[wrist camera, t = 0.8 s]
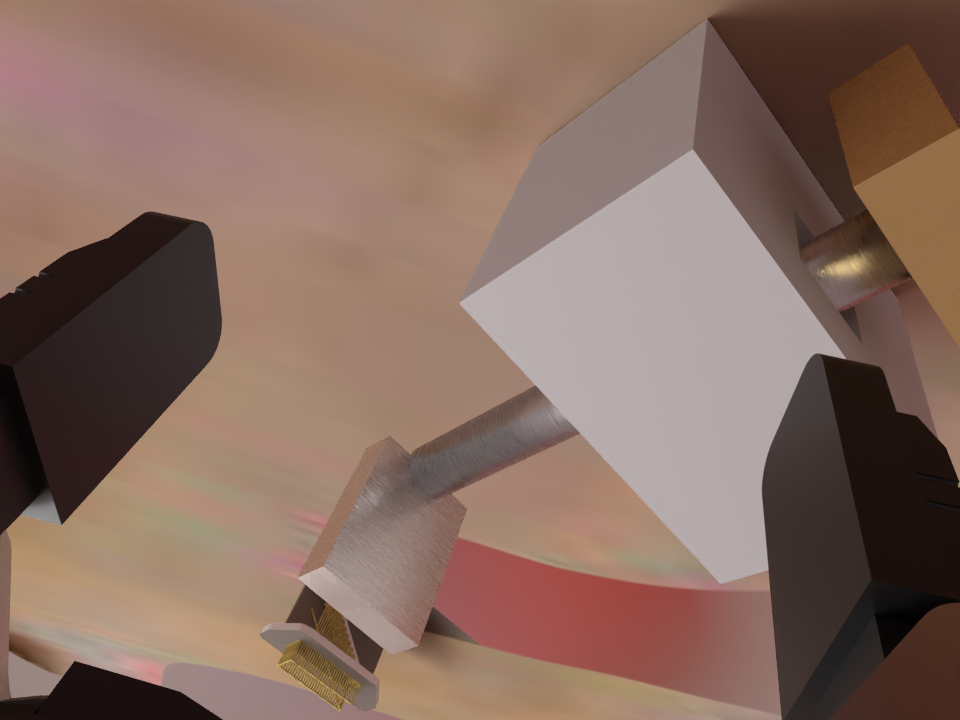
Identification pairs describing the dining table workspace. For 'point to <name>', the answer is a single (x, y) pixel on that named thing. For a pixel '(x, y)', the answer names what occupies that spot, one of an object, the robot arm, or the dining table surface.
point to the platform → (337, 650)
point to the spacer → (907, 171)
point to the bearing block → (679, 292)
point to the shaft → (496, 470)
